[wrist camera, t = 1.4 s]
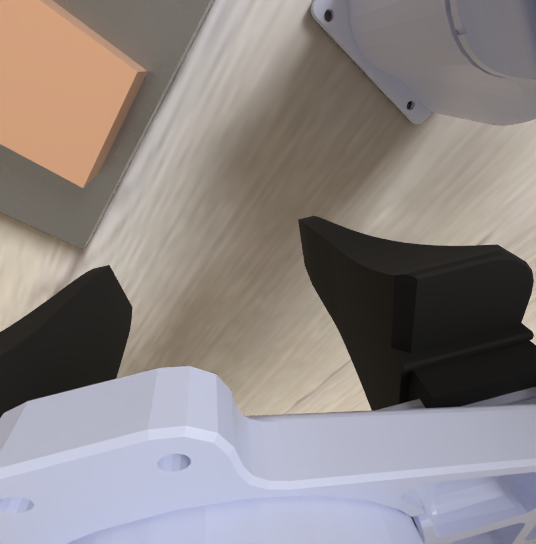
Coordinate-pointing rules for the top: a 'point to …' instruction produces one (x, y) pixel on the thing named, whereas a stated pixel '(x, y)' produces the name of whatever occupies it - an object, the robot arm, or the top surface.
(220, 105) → the top surface
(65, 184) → the grey flat board
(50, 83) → the tile
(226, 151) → the top surface
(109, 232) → the top surface
